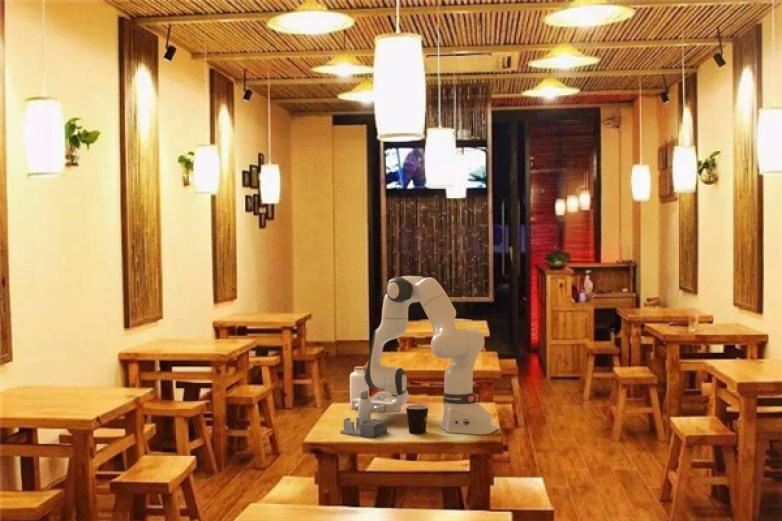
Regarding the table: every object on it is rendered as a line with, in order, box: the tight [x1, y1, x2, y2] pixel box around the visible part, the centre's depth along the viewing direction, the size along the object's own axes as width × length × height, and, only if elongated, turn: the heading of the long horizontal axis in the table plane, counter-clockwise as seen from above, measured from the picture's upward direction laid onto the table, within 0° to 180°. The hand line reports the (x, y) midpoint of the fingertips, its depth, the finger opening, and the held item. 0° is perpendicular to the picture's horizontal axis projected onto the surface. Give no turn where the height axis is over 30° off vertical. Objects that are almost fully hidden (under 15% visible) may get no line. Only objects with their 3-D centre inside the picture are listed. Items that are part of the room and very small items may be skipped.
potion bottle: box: [349, 366, 370, 409], centre depth 388 cm, size 8×8×18 cm
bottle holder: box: [340, 416, 388, 439], centre depth 339 cm, size 16×10×5 cm, turn 60°
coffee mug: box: [405, 404, 429, 435], centre depth 338 cm, size 12×9×10 cm
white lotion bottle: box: [357, 391, 372, 422], centre depth 352 cm, size 5×5×14 cm
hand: (365, 408), depth 352 cm, fingers open, 8 cm apart
